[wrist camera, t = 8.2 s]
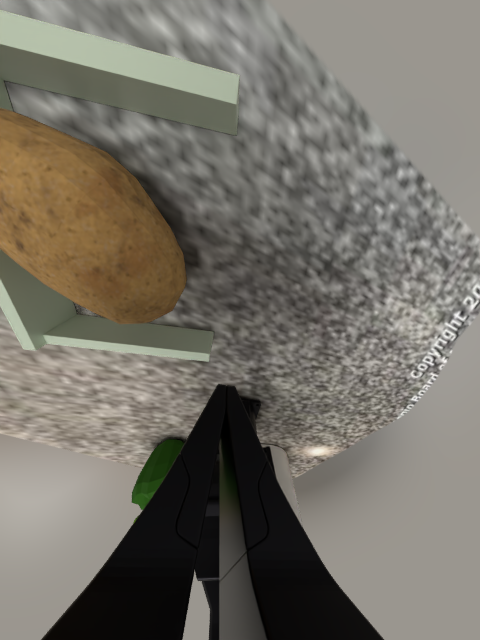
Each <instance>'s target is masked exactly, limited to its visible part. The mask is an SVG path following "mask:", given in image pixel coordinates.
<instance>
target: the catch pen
mask: <svg viewBox="0 0 480 640" xmlns="http://www.w3.org/2000/svg"><path fill="white" fill-rule="evenodd" d="M239 78H240V75H237V74H233V73H229V72H226V71H222V70H218V69H215V68H211V67H207V66H204V65H200V64H196V63H193V62H189V61H185V60H182V59H178V58H174V57H171V56H167V55H163V54H160V53H156V52H152V51H149V50H145V49H141V48H138V47H134V46H130V45H127V44H123V43H119V42H116V41H112V40H108V39H105V38H101V37H97V36H94V35H90V34H86V33H83V32H79V31H75V30H72V29H68V28H64V27H61V26H57V25H53V24H50V23H46V22H42V21H39V20H35V19H31V18H28V17H24V16H20V15H17V14H13V13H9V12H6V11H2V10H0V108H3V109H7V110H10V111H13V109H12V106H11V102H10V99H9V96H8V93H7V90H6V87H5V83H4V81H9V82H13V83H17V84H21V85H25V86H29V87H34V88H38V89H42V90H46V91H50V92H55V93H59V94H63V95H67V96H71V97H76V98H80V99H84V100H88V101H92V102H97V103H101V104H105V105H109V106H113V107H118V108H122V109H126V110H130V111H134V112H138V113H143V114H147V115H151V116H155V117H159V118H164V119H168V120H172V121H176V122H180V123H185V124H189V125H193V126H197V127H201V128H206V129H210V130H214V131H218V132H222V133H227V134H231V135H235V136H236V134H237V125H238V117H239ZM0 307H1V308H2V310H3V312H4V314H5V316H6V318H7V320H8V321H9V323H10V325H11V327H12V329H13V331H14V333H15V334H16V336H17V338H18V340H19V342H20V344H21V346H22V347H23V349H26V350H35V351H36V350H38V349H39V348H41V347H42V346H44V345H45V344H54V345H63V346H72V347H81V348H90V349H99V350H108V351H117V352H126V353H135V354H144V355H153V356H162V357H171V358H180V359H189V360H198V361H207V362H209V358H210V353H211V347H212V342H213V336H214V332H212V331H204V330H196V329H188V328H181V327H173V326H165V325H157V324H149V323H143V324H118V323H116V322H114V321H112V320H109V319H107V318H102V317H94V316H87V315H79V314H77V312H76V309H75V306H74V303H73V301H71V300H70V299H68V298H66V297H65V296H63V295H61V294H60V293H58V292H57V291H55V290H53V289H52V288H50V287H48V286H47V285H45V284H43V283H42V282H41V281H40V280H38V279H37V278H36V277H34V276H33V275H32V274H30V273H29V272H28V271H27V270H25V269H24V268H23V267H21V266H20V265H19V264H17V263H16V262H15V261H14V260H13V259H12V258H10V257H9V256H8V255H7V254H6V253H4V252H3V251H2V250H1V249H0Z"/></svg>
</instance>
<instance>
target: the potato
mask: <svg viewBox="0 0 480 640" xmlns="http://www.w3.org/2000/svg"><path fill="white" fill-rule="evenodd" d="M0 249H1V250H2V251H3V252H4V253H6V254H7V255H8V256H9V257H10V258H12V259H13V260H14V261H15V262H16V263H17V264H19V265H20V266H21V267H23V268H24V269H25V270H27V271H28V272H29V273H30V274H32V275H33V276H34V277H36V278H37V279H38V280H40V281H41V282H42V283H43V284H45V285H47V286H48V287H50V288H52V289H53V290H55V291H57V292H58V293H60V294H61V295H63V296H65V297H66V298H68V299H70V300H71V301H73V302H75V303H76V304H79V305H81V306H83V307H85V308H87V309H88V310H90V311H92V312H94V313H96V314H98V315H100V316H103V317H105V318H107V319H109V320H112V321H114V322H116V323H118V324H143V323H148V322H151V321H153V320H155V319H157V318H159V317H161V316H163V315H165V314H167V313H169V312H171V311H172V310H173V308H174V307H175V305H176V303H177V301H178V299H179V297H180V295H181V294H182V292H183V290H184V288H185V285H186V281H187V277H186V270H185V263H184V256H183V253H182V251H181V249H180V247H179V244H178V242H177V240H176V238H175V236H174V234H173V232H172V230H171V228H170V227H169V225H168V224H167V222H166V221H165V219H164V218H163V216H162V215H161V213H160V212H159V211H158V209H157V208H156V206H155V205H154V203H153V202H152V200H151V199H150V197H149V196H148V194H147V193H146V192H145V190H144V189H143V187H142V186H141V184H140V183H139V182H138V180H137V179H136V178H135V177H134V176H133V175H132V174H131V173H130V172H129V171H127V170H126V169H125V168H124V167H123V166H122V165H121V164H119V163H118V162H117V161H116V160H115V159H114V158H113V157H112V156H110V155H109V154H108V153H107V152H105V151H103V150H101V149H99V148H96V147H94V146H92V145H90V144H87V143H85V142H83V141H81V140H79V139H76V138H74V137H72V136H70V135H67V134H65V133H63V132H61V131H58V130H56V129H54V128H51V127H49V126H47V125H45V124H42V123H40V122H38V121H36V120H33V119H31V118H29V117H26V116H23V115H21V114H18V113H15V112H13V111H10V110H7V109H3V108H0Z"/></svg>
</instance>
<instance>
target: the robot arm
mask: <svg viewBox="0 0 480 640" xmlns="http://www.w3.org/2000/svg"><path fill="white" fill-rule="evenodd" d="M260 406H261V402H260V401H258V400H247V399H241V398H240V396H239V394H238V392H237V389H236V387H235V386H230V385H227V386H226V385H222V384H218V385H217V387H216V389H215V391H214V392H213V394H212V396H211V398H210V399H209V401H208V403H207V405H206V406H205V408H204V410H203V412H202V414H201V415H200V417H199V419H198V421H197V422H196V424H195V426H194V428H193V430H192V431H191V433H190V435H189V437H188V438H187V440H186V442H185V444H184V445H183V447H182V449H181V451H180V454H178V456H177V458H176V459H175V461H174V463H173V465H172V466H171V468H170V470H169V471H168V473H167V475H166V476H165V478H164V480H163V481H162V483H161V484H160V486H159V487H158V489H157V490H156V492H155V493H154V495H153V496H152V498H151V499H150V501H149V502H148V504H147V505H146V506H145V508H144V509H143V511H142V512H141V514H140V515H139V516H138V518H137V519H136V521H135V522H134V524H133V525H132V526H131V528H130V529H129V531H128V532H127V534H126V535H125V536H124V538H123V539H122V541H121V542H120V543H119V545H118V546H117V548H116V549H115V550H114V552H113V553H112V555H111V556H110V557H109V559H108V560H107V562H106V563H105V564H104V565H103V567H102V568H101V569H100V571H99V572H98V573H97V574H96V576H95V577H94V578H93V580H92V581H91V582H90V584H89V585H88V586H87V587H86V588H85V590H84V591H83V592H82V593H81V594H80V595H79V596H78V598H77V599H76V600H75V601H74V602H73V603H72V604H71V606H70V607H69V608H68V609H67V610H66V611H65V613H64V614H63V615H62V616H61V617H60V618H59V619H58V621H57V622H56V623H55V624H54V625H53V626H52V628H51V629H50V630H49V631H48V632H47V634H46V635H45V636H44V637H43V638H42V639H41V640H182V639H183V633H184V627H185V621H186V615H187V610H188V604H189V598H190V592H191V586H192V581H193V576H194V570H195V572H196V577H197V580H198V581H202V584H203V587H204V591H205V594H206V597H207V601H208V604H209V608H210V626H209V627H210V628H209V640H384V639H383V638H382V637H381V636H380V634H379V633H378V632H377V631H376V630H375V628H374V627H373V626H372V625H371V624H370V622H369V621H368V620H367V619H366V618H365V617H364V615H363V614H362V613H361V612H360V611H359V609H358V608H357V607H356V606H355V605H354V603H353V602H352V601H351V600H350V599H349V597H348V596H347V595H346V594H345V593H344V592H343V590H342V589H341V588H340V587H339V585H338V584H337V583H336V581H335V580H334V579H333V577H332V576H331V575H330V573H329V572H328V570H327V569H326V567H325V566H324V564H323V562H322V561H321V559H320V557H319V556H318V554H317V552H316V550H315V549H314V547H313V545H312V543H311V542H310V540H309V538H308V536H307V534H306V532H305V531H304V529H303V527H302V525H301V523H300V522H299V520H298V518H297V516H296V514H295V513H294V511H293V509H292V507H291V506H290V504H289V502H288V500H287V498H286V496H285V494H284V492H283V490H282V489H281V487H280V484H279V482H278V480H277V478H276V474H275V469H274V464H273V459H272V454H271V449H270V446H266V447H262V445H261V443H260V441H259V439H258V436H257V431H256V421H255V420H256V417H257V414H258V412H259V409H260Z"/></svg>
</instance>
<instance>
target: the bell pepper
mask: <svg viewBox="0 0 480 640" xmlns="http://www.w3.org/2000/svg"><path fill="white" fill-rule="evenodd" d="M183 445H184V443H183V442H182V441H180V440H176V439H167V440H166V441H164V442H162V443H161V444H160V445H158V446H157V447H156V448H155V449H154V451H153V452H152V454H151V455H150V457H149V459H148V460H147V462H146V464H145V465H144V467H143V469H142V471H141V473H140V475H139V476H138V479H137V481H136V484H135V486H134V489H133V492H132V503H135V504H138V505H139V506H140V508H141V509H142V510H143V509H144V508H145V506H146V505H147V504H148V502H149V501H150V499H151V498H152V496H153V495H154V493H155V492H156V490H157V489H158V487H159V486H160V484H161V483H162V481H163V480H164V478H165V476H166V475H167V473H168V471H169V470H170V468H171V466H172V465H173V463H174V461H175V459H176V458H177V456H178V454H180V451H181V449H182V447H183ZM137 518H138V517H137ZM137 518H136V519H137ZM136 519H135V520H134V522H135V521H136ZM133 524H134V523H133Z"/></svg>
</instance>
